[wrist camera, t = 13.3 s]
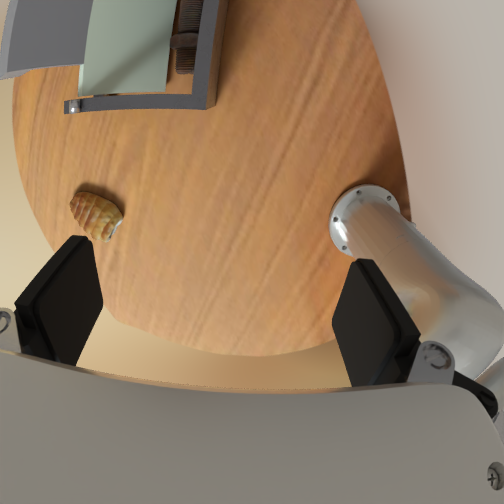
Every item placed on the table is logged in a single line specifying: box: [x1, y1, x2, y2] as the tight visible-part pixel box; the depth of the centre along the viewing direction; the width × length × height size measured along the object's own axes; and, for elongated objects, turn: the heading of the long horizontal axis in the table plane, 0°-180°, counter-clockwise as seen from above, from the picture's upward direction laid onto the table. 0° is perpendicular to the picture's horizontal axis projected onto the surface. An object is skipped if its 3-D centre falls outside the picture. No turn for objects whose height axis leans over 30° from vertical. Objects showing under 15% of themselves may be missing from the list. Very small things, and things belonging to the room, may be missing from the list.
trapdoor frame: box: [64, 0, 229, 114], centre depth 25 cm, size 16×21×13 cm
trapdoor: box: [0, 0, 177, 97], centre depth 22 cm, size 21×17×6 cm
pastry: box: [70, 192, 123, 242], centre depth 42 cm, size 9×7×4 cm
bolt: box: [170, 0, 204, 74], centre depth 28 cm, size 6×5×15 cm
